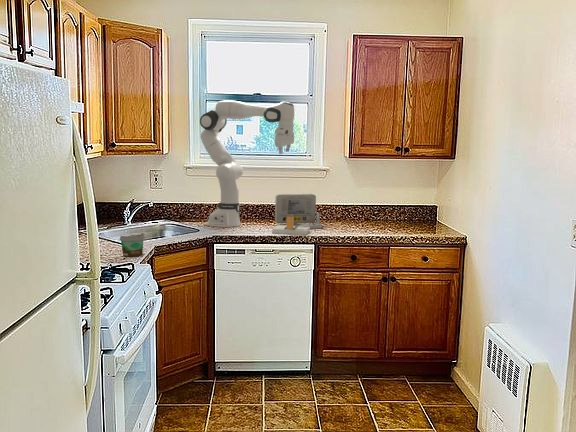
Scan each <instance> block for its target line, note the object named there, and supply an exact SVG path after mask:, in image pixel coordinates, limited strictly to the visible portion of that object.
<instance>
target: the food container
mask: <svg viewBox="0 0 576 432" xmlns="http://www.w3.org/2000/svg"><path fill="white" fill-rule="evenodd" d="M145 239H146V237H145V233H143V232H141V234H131V235H128V236H127V235H125V236H124V235H120V237H119V241H121V242H120V244H121V252H122V257H123V258H139V257H142V256H143V251H144V250H143V249H144V240H145Z"/></svg>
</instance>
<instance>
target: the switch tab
mask: <svg viewBox="0 0 576 432" xmlns="http://www.w3.org/2000/svg"><path fill="white" fill-rule="evenodd" d="M286 224H287V225H286V226H287V229H293V228H294V214H287V223H286Z"/></svg>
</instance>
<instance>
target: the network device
mask: <svg viewBox="0 0 576 432" xmlns="http://www.w3.org/2000/svg"><path fill="white" fill-rule="evenodd" d="M316 203H317V196H316V195H315V194H313V193H277V194H276V195H275V202H274V204H275V206H274V207H275V208H274V209H275V211H274V215H275V216H274V222H275V223H277V224H279V225H284V226H287V214H294V226H296V225H298V226H299V225H300V224H312V223H316V213H317V212H316V206H317V205H316Z"/></svg>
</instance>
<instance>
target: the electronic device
mask: <svg viewBox="0 0 576 432" xmlns="http://www.w3.org/2000/svg"><path fill="white" fill-rule="evenodd" d="M320 219H321V217H320V212H316V217H315V222H314V223H307V224H300V225H299V226H302V227H310V230H311V229H322V228H323V223H321V221H320Z"/></svg>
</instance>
